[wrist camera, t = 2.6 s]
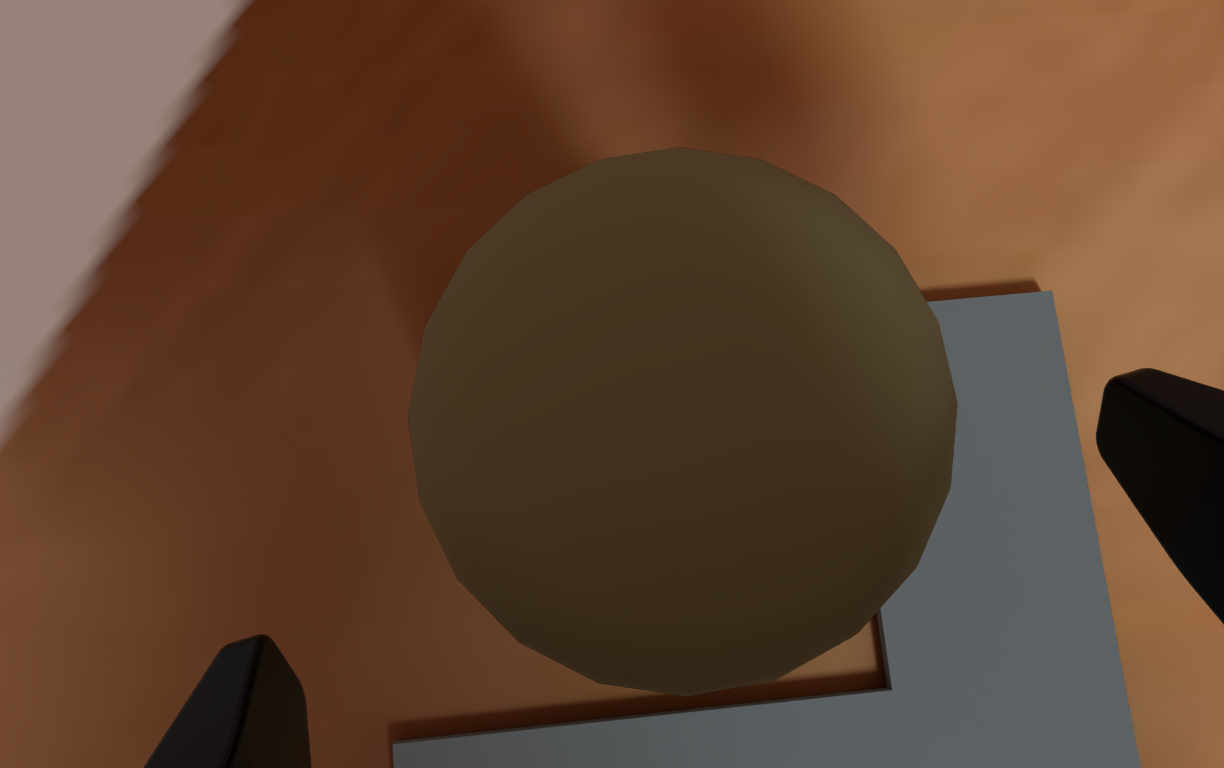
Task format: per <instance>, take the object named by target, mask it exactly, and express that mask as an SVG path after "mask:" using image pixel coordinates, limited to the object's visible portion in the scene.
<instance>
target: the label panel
mask: <svg viewBox="0 0 1224 768" xmlns="http://www.w3.org/2000/svg"><path fill="white" fill-rule="evenodd" d="M927 303H928V305H929V306H930V308H931V310H932V312H933V313H934V315H935V317H936V318H937V320H938V322H939V326H940V330H941V334H942V339H943V343H944V347H945V351H946V356H947V360H948V364H949V368H950V373H951V377H952V381H953V385H954V390H955V394H956V398H957V403H958V407H957V419H956V431H955V443H954V455H953V467H952V479H951V489H950V491H949V494H948V496H947V498H946V501H945V503H944V505H943V508H942V510H941V512H940V515H939V517H938V519H937V522H936V524H935V526H934V529H933V531H932V533H931V536H930V538H929V540H928V543H927V545H926V547H925V550H924V552H923V554H922V557H921V559H920V562H919V564H918V566H917V568H916V569H915V570H914V571H913V572H912V573H911V575H910V576H909V577H908V578H907V579H906V580H905V581H904V582H903V584H902V585H901V586H900V587H899V588H898V589H897V590H896V591H895V592H894V594H893V595H892V596H891V597H890V598H889V599H888V600H887V601H886V603H885V604H884V605H883V606H882V607H881V608H880V609H879V610H878V611H877V620H878V627H879V634H880V641H881V648H882V655H883V662H884V669H885V676H886V683H887V688H879V689H870V690H861V691H852V692H842V693H833V694H824V695H815V696H805V697H796V698H787V699H778V700H768V701H759V702H750V703H741V704H732V705H722V706H713V707H704V708H695V709H685V710H676V711H667V712H658V713H648V714H639V715H630V716H621V717H612V718H602V719H593V720H584V721H575V722H565V723H556V724H547V725H538V726H528V727H519V728H510V729H501V730H491V731H482V732H473V733H464V734H455V735H445V736H436V737H427V738H418V739H408V740H399V741H395V742H394V743H393V744H392V747H393V765H394V768H1140V763H1139V758H1138V752H1137V747H1136V742H1135V736H1134V731H1133V725H1132V720H1131V715H1130V709H1129V704H1128V699H1127V693H1126V688H1125V682H1124V677H1123V672H1122V666H1121V661H1120V655H1119V650H1118V645H1117V639H1116V634H1115V628H1114V623H1113V618H1112V612H1111V607H1110V601H1109V596H1108V591H1107V585H1106V580H1105V574H1104V569H1103V564H1102V558H1101V553H1100V547H1099V542H1098V537H1097V531H1096V526H1095V520H1094V515H1093V510H1092V504H1091V499H1090V493H1089V488H1088V483H1087V477H1086V472H1085V466H1084V461H1083V456H1082V450H1081V445H1080V439H1079V434H1078V429H1077V423H1076V418H1075V412H1074V407H1073V402H1072V396H1071V391H1070V385H1069V380H1068V375H1067V369H1066V364H1065V359H1064V353H1063V348H1062V342H1061V337H1060V332H1059V326H1058V321H1057V315H1056V310H1055V305H1054V299H1053V294H1052V291H1041V292H1030V293H1019V294H1008V295H997V296H986V297H975V298H964V299H953V300H942V301H931V302H927Z"/></svg>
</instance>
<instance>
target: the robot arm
mask: <svg viewBox="0 0 1224 768" xmlns="http://www.w3.org/2000/svg"><path fill="white" fill-rule="evenodd" d="M1096 442H1097V447H1098V450H1099V452H1100V455H1101V457H1102V458H1103V460H1104V462H1105V463H1106V464H1107V466H1108V467H1109V469H1110V470H1111V472H1112V473H1113V475H1114V476H1115V478H1116V479H1117V481H1118V482H1119V484H1120V485H1121V487H1122V488H1123V489H1124V491H1125V492H1126V494H1127V495H1128V497H1129V498H1130V500H1131V501H1132V503H1133V504H1134V506H1135V507H1136V509H1137V510H1138V512H1139V513H1140V514H1141V516H1142V517H1143V519H1144V520H1145V522H1146V523H1147V525H1148V526H1149V528H1150V529H1151V531H1152V532H1153V534H1154V535H1155V537H1156V538H1157V539H1158V541H1159V542H1160V544H1161V545H1162V547H1163V548H1164V550H1165V551H1166V553H1167V554H1168V556H1169V557H1170V558H1171V560H1172V561H1173V562H1174V564H1175V565H1176V567H1177V568H1178V569H1179V571H1180V572H1181V573H1182V575H1183V576H1184V577H1185V578H1186V580H1187V581H1188V582H1189V583H1190V584H1191V586H1192V587H1193V588H1194V589H1195V591H1196V592H1197V593H1198V594H1199V596H1200V597H1201V598H1202V599H1203V600H1204V601H1205V603H1206V604H1207V605H1208V606H1209V607H1210V609H1211V610H1212V611H1213V612H1214V613H1215V614H1216V616H1217V617H1218V618H1219V619H1220V620H1221V622H1222V623H1223V624H1224V391H1223V390H1220V389H1217V388H1214V387H1211V386H1207V385H1204V384H1201V383H1198V382H1195V381H1191V380H1188V379H1185V378H1182V377H1179V376H1175V375H1172V374H1169V373H1166V372H1163V371H1160V370H1156V369H1152V368H1143V369H1138V370H1135V371H1132V372H1128V373H1125V374H1122V375H1118V376H1115V377H1113V378H1111V379H1110V380H1109V381H1108V383H1107V384H1106V385H1105V388H1104V393H1103V398H1102V404H1101V409H1100V415H1099V420H1098V426H1097V431H1096ZM143 768H311V756H310V744H309V732H308V720H307V708H306V700H305V695H304V691H303V688H302V685H301V683H300V681H299V679H298V677H297V676H296V674H295V673H294V671H293V670H292V668H291V667H290V665H289V664H288V662H287V661H286V659H285V658H284V656H283V655H282V653H281V651H280V650H279V648H278V647H277V645H276V644H275V642H274V641H273V640H272V639H271V638H270V637H269V636H267V635H264V634H261V635H260V634H259V635H255V636H252V637H249V638H246V639H242V640H239V641H236V642H232V643H229V644H227V645H226V646H224V647H223V648H222V649H221V650H220V651H219V653H218V654H217V655H216V657H215V659H214V660H213V662H212V663H211V665H210V666H209V668H208V669H207V671H206V672H205V674H204V675H203V677H202V678H201V680H200V682H199V683H198V685H197V686H196V688H195V689H194V691H193V692H192V694H191V695H190V697H189V698H188V700H187V701H186V703H185V705H184V706H183V708H182V709H181V711H180V712H179V714H178V715H177V717H176V718H175V720H174V721H173V723H172V724H171V726H170V728H169V729H168V731H167V732H166V734H165V735H164V737H163V738H162V740H161V741H160V743H159V744H158V746H157V747H156V749H155V751H154V752H153V754H152V755H151V757H150V758H149V760H148V761H147V763H146V764H145V766H144V767H143Z"/></svg>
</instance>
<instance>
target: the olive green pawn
mask: <svg viewBox="0 0 1224 768" xmlns="http://www.w3.org/2000/svg"><path fill="white" fill-rule="evenodd" d="M957 407H958V403H957V398H956V394H955V390H954V385H953V381H952V377H951V373H950V368H949V364H948V360H947V356H946V351H945V347H944V343H943V339H942V334H941V330H940V326H939V322H938V320H937V318H936V317H935V315H934V313H933V312H932V310H931V308H930V306H929V305H928V303H927V301H926V300H925V298H924V296H923V295H922V293H921V291H920V290H919V288H918V286H917V285H916V283H915V281H914V279H913V278H912V276H911V274H910V273H909V271H908V269H907V268H906V266H905V264H904V263H903V261H902V259H901V258H900V256H899V254H898V252H897V251H896V250H895V249H894V248H893V247H892V246H891V245H890V244H889V243H888V242H887V241H886V240H884V239H883V238H882V237H881V236H880V235H879V234H878V233H877V232H876V231H875V230H873V229H872V228H871V227H870V226H869V225H868V224H867V223H866V222H865V221H864V220H862V219H861V218H860V217H859V216H858V215H857V214H856V213H855V212H854V211H852V210H851V209H850V208H849V207H848V206H847V205H846V204H845V203H844V202H843V201H841V200H840V199H839V198H838V197H837V196H836V195H835V194H833V193H831V192H829V191H826V190H824V189H822V188H820V187H818V186H816V185H814V184H812V183H810V182H807V181H805V180H803V179H801V178H799V177H797V176H795V175H793V174H791V173H788V172H786V171H784V170H782V169H780V168H778V167H776V166H774V165H772V164H769V163H767V162H765V161H763V160H761V159H755V158H748V157H742V156H735V155H728V154H721V153H715V152H708V151H701V150H695V149H688V148H681V147H679V148H672V149H665V150H659V151H652V152H645V153H639V154H632V155H625V156H619V157H612V158H605V159H599V160H597V161H595V162H593V163H591V164H589V165H587V166H585V167H583V168H581V169H578V170H576V171H574V172H572V173H570V174H568V175H566V176H564V177H562V178H560V179H558V180H556V181H554V182H552V183H549V184H547V185H545V186H543V187H541V188H539V189H537V190H535V191H533V192H531V193H529V194H527V195H525V196H524V197H523V198H522V199H521V200H520V201H519V202H518V203H517V204H516V205H515V206H514V207H513V208H512V209H511V210H509V211H508V212H507V213H506V214H505V215H504V216H503V217H502V218H501V219H500V220H499V221H498V222H497V223H496V224H495V225H494V226H493V227H491V228H490V229H489V230H488V231H487V232H486V233H485V234H484V235H483V236H482V237H481V238H480V239H479V240H478V241H477V242H476V243H475V244H473V245H472V246H471V247H470V248H469V249H468V250H467V251H466V253H465V255H464V256H463V258H462V260H461V262H460V264H459V266H458V267H457V269H456V271H455V273H454V275H453V276H452V278H451V280H450V282H449V284H448V286H447V287H446V289H445V291H444V293H443V295H442V296H441V298H440V300H439V302H438V304H437V306H436V307H435V309H434V311H433V313H432V315H431V317H430V318H429V320H428V322H427V324H426V327H425V330H424V333H423V339H422V344H421V349H420V354H419V360H418V365H417V370H416V376H415V381H414V386H413V392H412V397H411V402H410V408H409V413H408V420H409V427H410V435H411V442H412V450H413V457H414V465H415V472H416V480H417V487H418V495H419V501H420V503H421V505H422V507H423V509H424V511H425V513H426V515H427V517H428V520H429V522H430V524H431V526H432V528H433V530H434V532H435V534H436V536H437V538H438V540H439V542H440V544H441V546H442V548H443V550H444V552H445V555H446V557H447V559H448V561H449V563H450V565H451V567H452V569H453V571H454V573H455V575H456V577H457V579H458V580H459V581H460V582H461V583H462V584H463V585H464V586H465V587H466V588H467V589H468V590H469V591H470V592H471V594H472V595H473V596H474V597H475V598H476V599H477V600H478V601H479V602H480V603H481V604H482V605H483V606H484V607H485V608H486V609H487V610H488V611H489V612H490V613H491V614H492V615H493V616H494V617H495V618H496V619H497V620H498V621H499V622H500V623H501V624H502V625H503V626H504V627H505V628H506V629H507V630H508V631H509V632H510V633H511V634H512V636H513V637H514V638H515V639H516V640H517V641H518V642H519V643H521V644H523V645H525V646H527V647H529V648H531V649H533V650H535V651H537V652H539V653H541V654H543V655H545V656H547V657H549V658H550V659H552V660H554V661H556V662H558V663H560V664H562V665H564V666H566V667H568V668H570V669H572V670H574V671H576V672H578V673H580V674H582V675H584V676H586V677H587V678H589V679H591V680H593V681H595V682H597V683H600V684H607V685H613V686H620V687H627V688H633V689H640V690H647V691H653V692H660V693H667V694H673V695H680V696H693V695H698V694H704V693H709V692H715V691H720V690H726V689H731V688H737V687H742V686H748V685H753V684H759V683H764V682H770V681H775V680H776V679H778V678H780V677H782V676H783V675H785V674H787V673H789V672H791V671H792V670H794V669H796V668H798V667H800V666H801V665H803V664H805V663H807V662H808V661H810V660H812V659H814V658H816V657H817V656H819V655H821V654H823V653H825V652H826V651H828V650H830V649H832V648H833V647H835V646H837V645H839V644H841V643H842V642H844V641H846V640H848V639H850V638H851V637H853V636H854V635H856V634H857V633H858V632H860V630H861V629H862V628H863V627H864V626H865V625H866V624H867V623H868V621H869V620H870V619H871V618H872V617H873V616H874V615H875V614H876V613H877V611H878V610H879V609H880V608H881V607H882V606H883V605H884V604H885V603H886V601H887V600H888V599H889V598H890V597H891V596H892V595H893V594H894V592H895V591H896V590H897V589H898V588H899V587H900V586H901V585H902V584H903V582H904V581H905V580H906V579H907V578H908V577H909V576H910V575H911V573H912V572H913V571H914V570H915V569H916V568H917V566H918V564H919V562H920V559H921V557H922V554H923V552H924V550H925V547H926V545H927V543H928V540H929V538H930V536H931V533H932V531H933V529H934V526H935V524H936V522H937V519H938V517H939V515H940V512H941V510H942V508H943V505H944V503H945V501H946V498H947V496H948V494H949V491H950V489H951V479H952V467H953V455H954V443H955V431H956V419H957Z"/></svg>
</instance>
